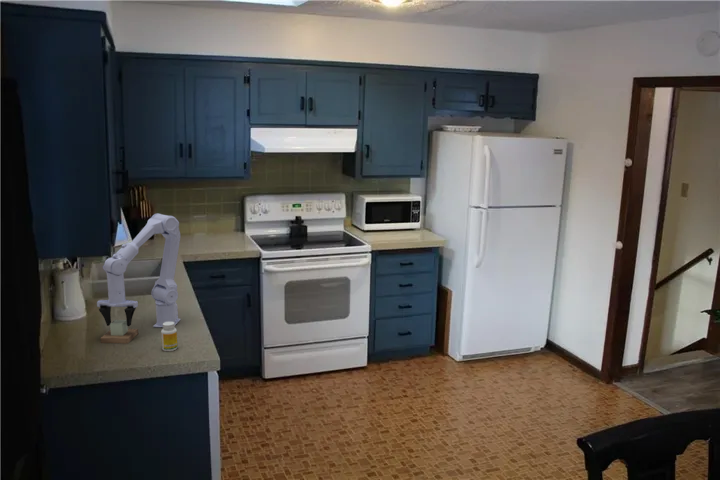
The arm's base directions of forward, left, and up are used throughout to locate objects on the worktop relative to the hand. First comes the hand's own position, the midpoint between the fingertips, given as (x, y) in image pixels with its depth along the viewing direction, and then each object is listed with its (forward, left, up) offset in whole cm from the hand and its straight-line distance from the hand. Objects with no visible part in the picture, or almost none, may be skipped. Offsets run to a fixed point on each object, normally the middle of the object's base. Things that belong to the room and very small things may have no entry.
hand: (119, 325), depth 232 cm
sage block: (0, 0, -3) cm, 3 cm away
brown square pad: (0, 0, -6) cm, 6 cm away
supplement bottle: (+9, +22, -5) cm, 24 cm away
